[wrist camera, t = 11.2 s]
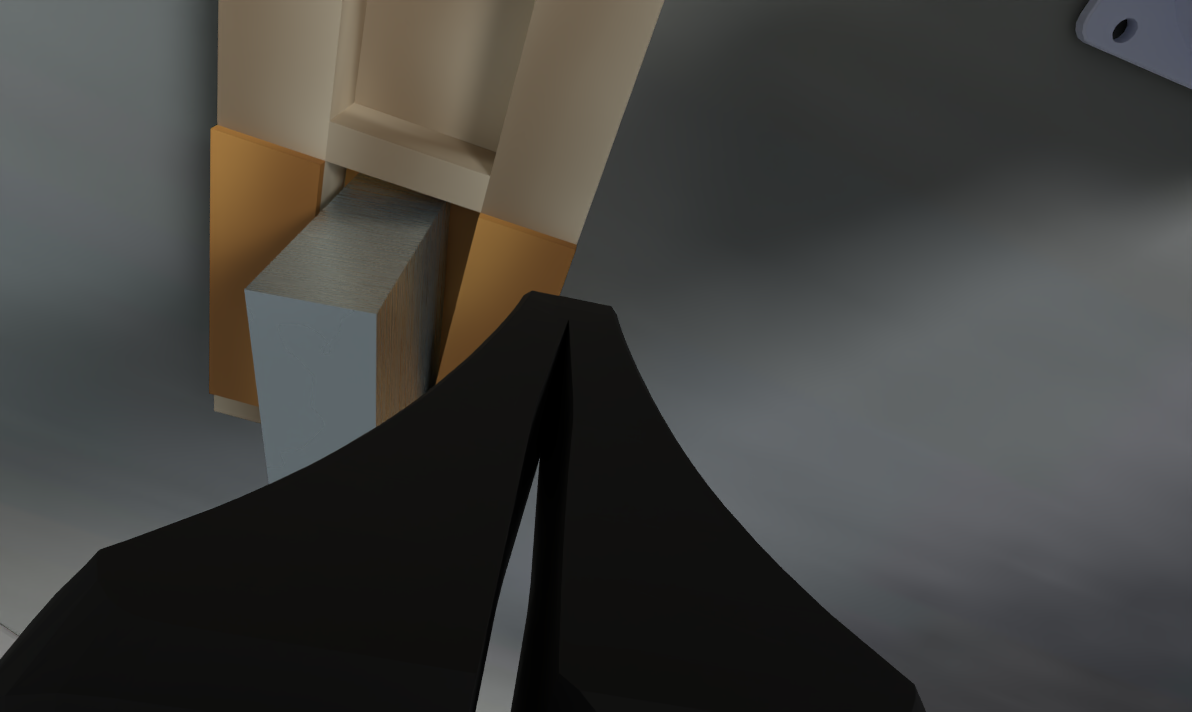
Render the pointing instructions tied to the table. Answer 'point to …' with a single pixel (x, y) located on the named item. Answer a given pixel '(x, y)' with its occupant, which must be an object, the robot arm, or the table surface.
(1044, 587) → the table surface
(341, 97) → the rack
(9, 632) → the rounded white slab
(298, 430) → the brushed gray metal block
